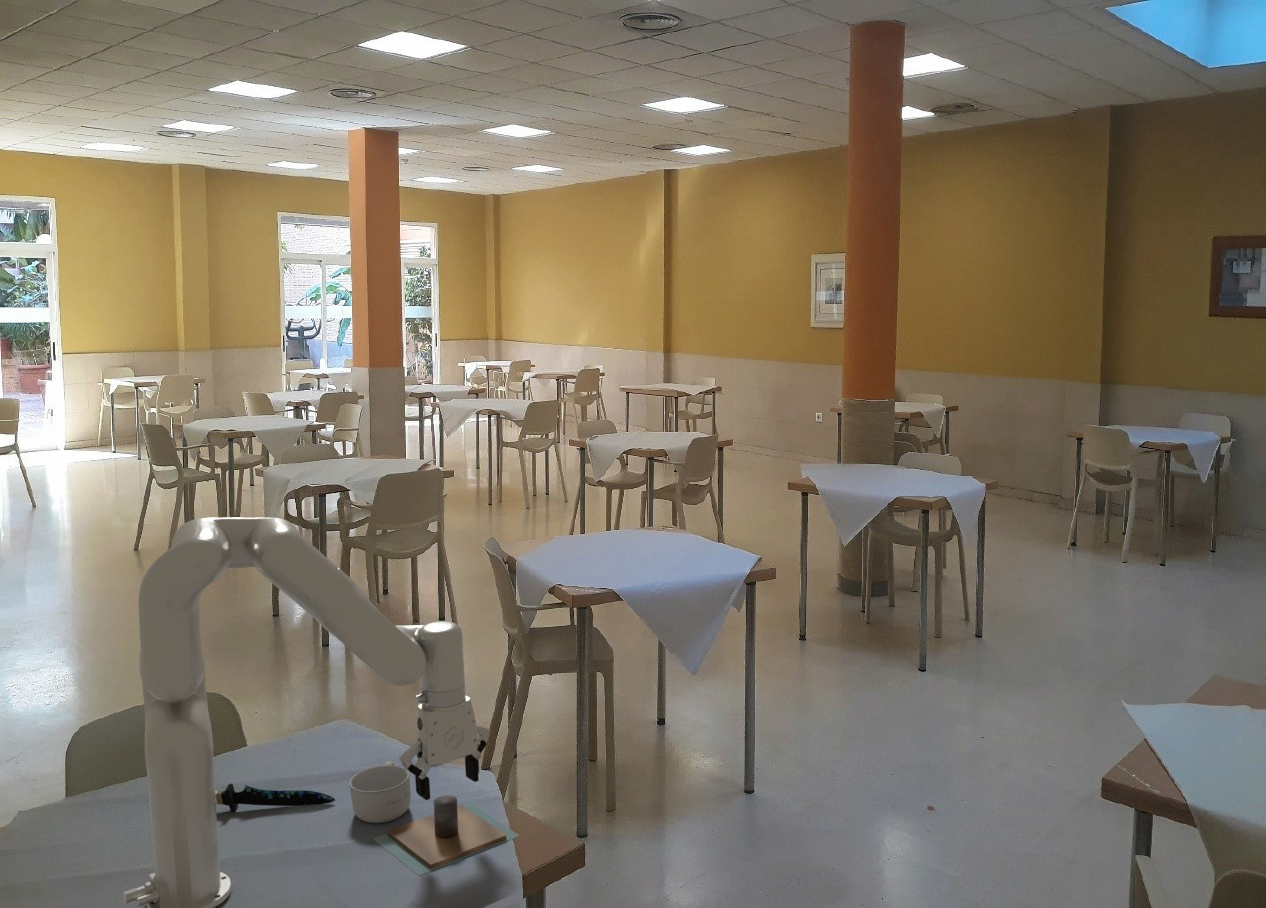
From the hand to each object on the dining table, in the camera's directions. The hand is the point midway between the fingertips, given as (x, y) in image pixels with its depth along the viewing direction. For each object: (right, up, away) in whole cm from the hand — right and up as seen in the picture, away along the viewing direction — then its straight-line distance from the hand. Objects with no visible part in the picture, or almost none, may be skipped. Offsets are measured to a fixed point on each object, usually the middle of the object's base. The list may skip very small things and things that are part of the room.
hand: (448, 788), depth 187 cm
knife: (-39, -8, +14) cm, 42 cm away
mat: (-1, -10, +1) cm, 10 cm away
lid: (-1, -9, +1) cm, 9 cm away
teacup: (-14, -9, +12) cm, 20 cm away
